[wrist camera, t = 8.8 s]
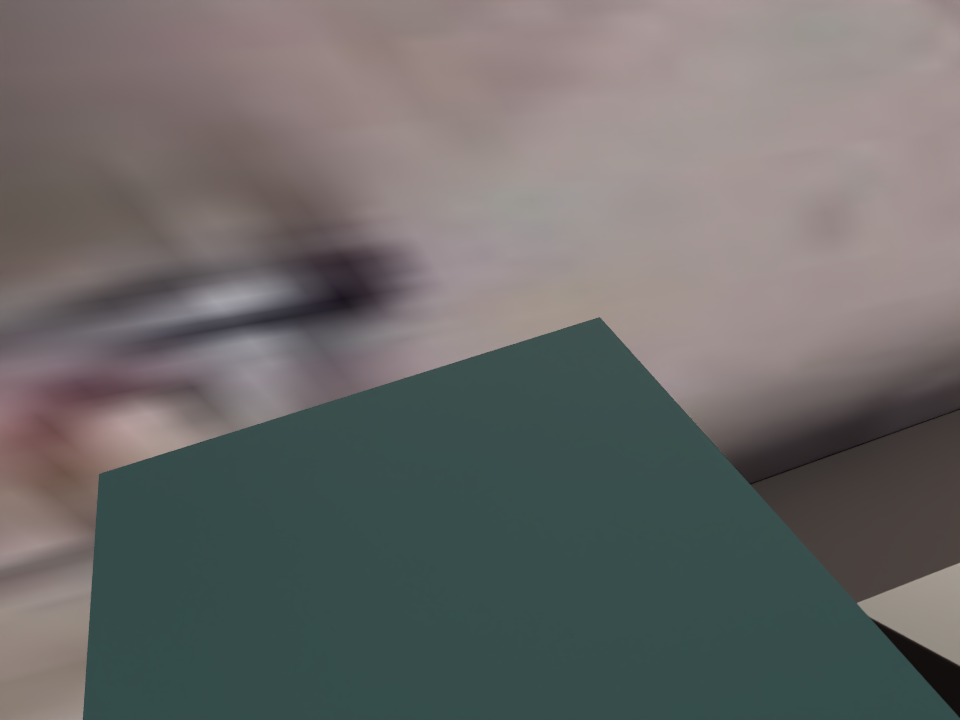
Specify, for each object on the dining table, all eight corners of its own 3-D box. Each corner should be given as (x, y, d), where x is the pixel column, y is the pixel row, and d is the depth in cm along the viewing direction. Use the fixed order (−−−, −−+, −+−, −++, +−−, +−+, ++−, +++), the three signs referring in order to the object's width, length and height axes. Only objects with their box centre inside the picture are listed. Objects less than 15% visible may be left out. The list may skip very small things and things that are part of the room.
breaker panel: (970, 713, 31) (1082, 834, 27) (590, 874, 29) (656, 1031, 25) (1045, 379, 23) (1213, 485, 20) (533, 562, 21) (615, 722, 17)
